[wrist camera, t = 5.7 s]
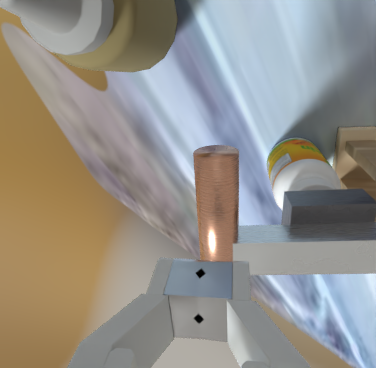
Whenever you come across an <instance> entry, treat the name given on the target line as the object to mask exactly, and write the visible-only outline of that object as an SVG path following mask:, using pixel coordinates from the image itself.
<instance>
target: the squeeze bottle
mask: <svg viewBox="0 0 376 368" xmlns="http://www.w3.org/2000/svg"><path fill="white" fill-rule="evenodd" d="M0 7H1V8H3V9H5V10H7V11H9V12H11V13H13V14H15V15H17V16H19V17H20V19H21V22H22V25H23V26H24V27H25V29H26V30H27V31H28V32H29V34H30V35H31V36H32V38H33V39H34V40H35V41H36V42H37V43H39V44H40V45H41V46H43V47H44V48H46V49H47V50H49V51H50V52H53V53H54V54H55V55H57V56H58V57H60V58H61V59H63V60H64V61H65V62H67V63H68V64H70V65H71V66H75V67H80V68H84V69H88V70H99V71H118V72H136V71H141V70H146V69H150V68H151V67H153V66H154V65H155V64H157V63H158V62H159V61H161V60H162V59H163V58H164V57H165V56H166V54H167V52H168V51H169V49H170V47H171V45H172V44H173V42H174V39H175V33H176V26H177V20H178V18H177V12H176V7H175V1H174V0H0Z"/></svg>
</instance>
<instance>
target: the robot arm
mask: <svg viewBox="0 0 376 368" xmlns="http://www.w3.org/2000/svg"><path fill="white" fill-rule="evenodd" d="M174 337H176V338H193V339H206V340H215V341H223V342H228V345H229V347H230V349H231V350H232V352H233V354H234V356H235V358H236V360H237V362H238V364H239V365H240V368H310V365H309V364H308V363H307V362H306V360H305V359H304V358H303V357H302V356H301V354H300V353H299V352H298V351H297V350H296V348H295V347H294V346H293V345H292V344H291V343H290V342H289V340H288V339H287V338H286V336H285V335H284V334H283V333H282V332H281V330H280V329H279V328H278V327H277V326H276V324H275V323H274V322H273V321H272V320H271V318H270V317H269V316H268V315H267V314H266V313H265V311H264V310H263V309H262V308H261V307H260V305H259V304H258V303H257V302H256V301H251V288H250V271H249V262H248V261H213V260H193V259H178V258H177V259H176V258H175V259H173V258H159V260H158V261H157V264H156V267H155V270H154V272H153V275H152V278H151V281H150V284H149V287H148V289H147V292H146V294H141V295H139V296H138V297H137V298H136V299H134V300H133V301H132V302H131V303H129V304H128V305H127V306H126V307H124V308H123V309H122V310H121V311H120V312H118V313H117V314H116V315H114V316H113V317H112V318H111V319H109V320H108V321H107V322H106V323H104V324H103V325H102V326H100V327H99V328H98V329H97V330H95V331H94V332H93V333H92V334H90V335H89V336H88V337H87V338H86V339H84V340H83V341H82V342H80V344H79V346H78V348H77V350H76V352H75V354H74V355H73V358H72V360H71V361H70V363H69V365H68V367H67V368H151V367H152V366H153V364H154V363H155V362H156V361H157V359H158V358H159V357H160V356H161V354H162V353H163V352H164V351H165V350H166V348H167V347H168V346H169V345H170V343H171V342H172V341H173V340H174Z"/></svg>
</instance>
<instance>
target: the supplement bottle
mask: <svg viewBox="0 0 376 368" xmlns="http://www.w3.org/2000/svg"><path fill="white" fill-rule="evenodd" d="M267 170H268V175H269V178H270V183H271V186H272V191H273V195H274V198H275V200H276V203H277V204H278V206H279V207H280V208H281V209H282V210H283V198H284V191H307V190H335V189H341V184H340V179H339V177H338V175H337V173H336V172H335V170H334V169H333V168H332V166H331V165H330V164H329V163H328V161H327V160H326V159H325V157H324V156H323V155H322V153H321V152H320V151H319V149H318V148H317V147H316V146H315V145H314V144H313V143H312V142H310V141H308V140H306V139H303V138H289V139H286V140H283V141H281V142H280V143H278V144H277V145H276V146H275V147H274V148H273V149H272V150H271V152H270V153H269V156H268V159H267Z"/></svg>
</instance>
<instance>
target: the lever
mask: <svg viewBox="0 0 376 368" xmlns="http://www.w3.org/2000/svg"><path fill="white" fill-rule="evenodd" d="M193 155H194V170H195V186H196V201H197V216H198V231H199V246H200V260H213V261H248V262H249V271H250V275H297V274H367V273H376V222H374V221H375V217H376V201H375V200H374V199H373V198H372V197H371V196H370V195H369V194H368V193H367V192H366V191H365V190H363V189H335V190H307V191H284V198H283V211H282V223H281V225H253V226H239V151H238V149H236V148H234V147H231V146H225V145H212V146H205V147H202V148H199V149H197V150H195V151H194V153H193Z"/></svg>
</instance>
